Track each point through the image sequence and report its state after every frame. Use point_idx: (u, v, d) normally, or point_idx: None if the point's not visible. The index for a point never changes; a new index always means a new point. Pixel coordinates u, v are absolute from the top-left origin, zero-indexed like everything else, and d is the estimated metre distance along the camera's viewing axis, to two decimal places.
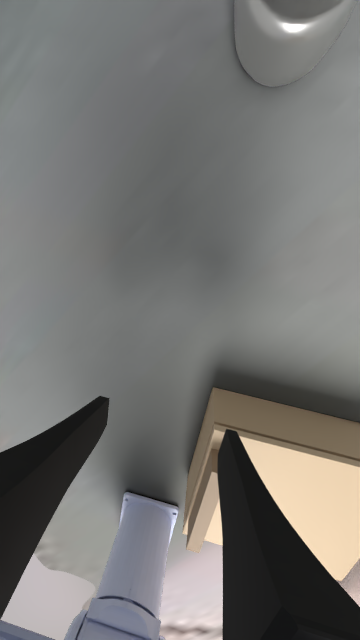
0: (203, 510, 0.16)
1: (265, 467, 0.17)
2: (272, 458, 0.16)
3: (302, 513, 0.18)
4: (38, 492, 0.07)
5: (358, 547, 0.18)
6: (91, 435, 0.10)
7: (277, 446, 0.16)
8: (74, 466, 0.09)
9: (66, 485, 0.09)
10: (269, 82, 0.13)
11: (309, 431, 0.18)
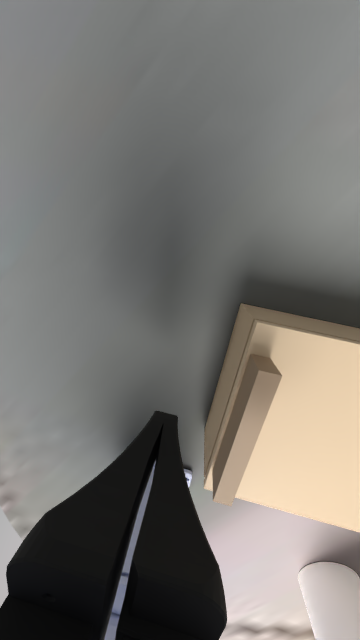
0: (241, 438, 0.11)
1: (327, 379, 0.12)
2: (339, 363, 0.12)
3: None
4: (131, 520, 0.07)
5: None
6: (155, 453, 0.10)
7: (348, 343, 0.11)
8: (144, 486, 0.09)
9: (139, 506, 0.09)
10: None
11: None
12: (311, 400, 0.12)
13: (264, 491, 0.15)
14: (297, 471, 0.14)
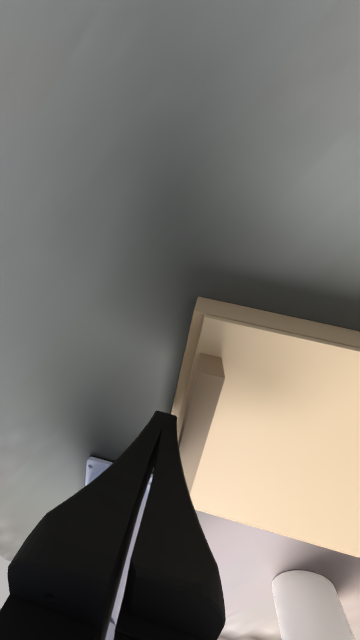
0: (186, 448, 0.10)
1: (285, 381, 0.11)
2: (297, 364, 0.10)
3: (340, 460, 0.11)
4: (132, 520, 0.07)
5: None
6: (155, 453, 0.10)
7: (307, 341, 0.10)
8: (145, 486, 0.09)
9: (139, 506, 0.09)
10: None
11: (339, 335, 0.12)
12: (269, 405, 0.11)
13: (224, 503, 0.14)
14: (258, 482, 0.13)
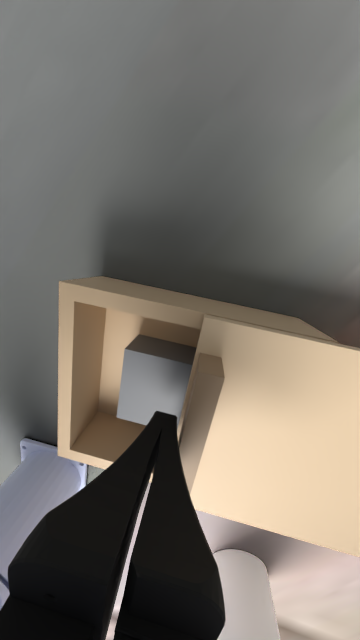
0: (186, 448, 0.10)
1: (285, 381, 0.11)
2: (297, 363, 0.10)
3: (341, 460, 0.11)
4: (132, 520, 0.07)
5: None
6: (155, 453, 0.10)
7: (306, 340, 0.10)
8: (145, 486, 0.09)
9: (139, 506, 0.09)
10: None
11: (208, 307, 0.13)
12: (269, 405, 0.11)
13: (224, 503, 0.14)
14: (259, 482, 0.13)
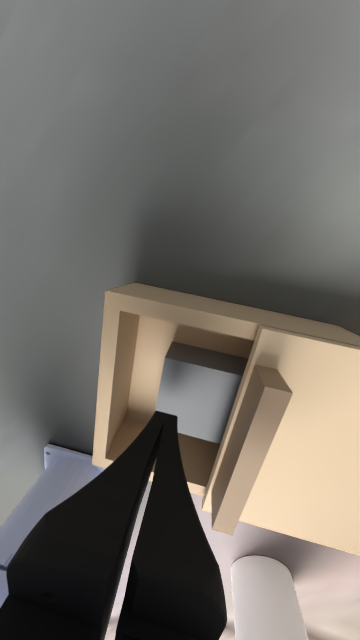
0: (244, 462, 0.10)
1: (343, 393, 0.10)
2: (357, 376, 0.10)
3: None
4: (131, 520, 0.07)
5: None
6: (155, 453, 0.10)
7: None
8: (144, 486, 0.09)
9: (139, 506, 0.09)
10: None
11: (253, 316, 0.12)
12: (324, 417, 0.11)
13: (268, 514, 0.13)
14: (306, 494, 0.12)
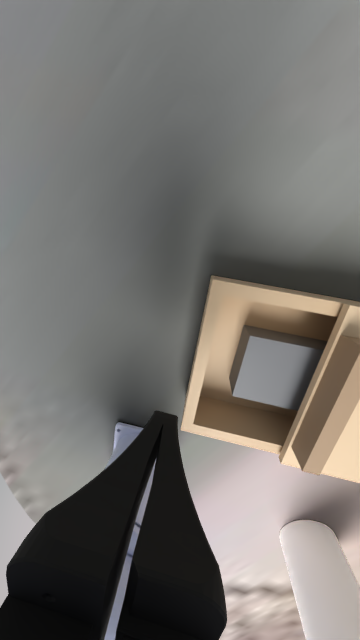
0: (338, 410, 0.13)
1: None
2: None
3: None
4: (131, 520, 0.07)
5: None
6: (155, 452, 0.10)
7: None
8: (144, 486, 0.09)
9: (138, 506, 0.09)
10: None
11: (328, 298, 0.15)
12: None
13: (340, 464, 0.16)
14: None
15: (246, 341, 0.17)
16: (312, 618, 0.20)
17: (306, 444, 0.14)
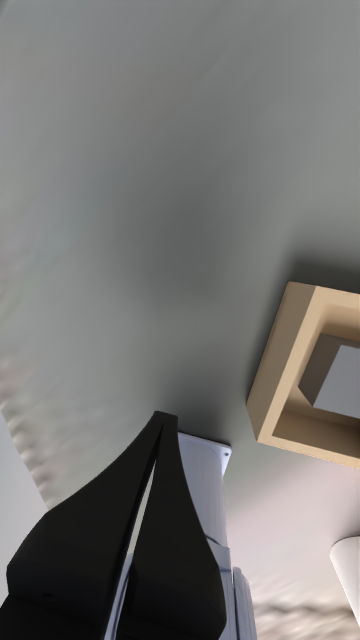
0: None
1: None
2: None
3: None
4: (131, 520, 0.07)
5: None
6: (155, 453, 0.10)
7: None
8: (144, 486, 0.09)
9: (139, 506, 0.09)
10: None
11: None
12: None
13: None
14: None
15: (333, 350, 0.16)
16: None
17: None
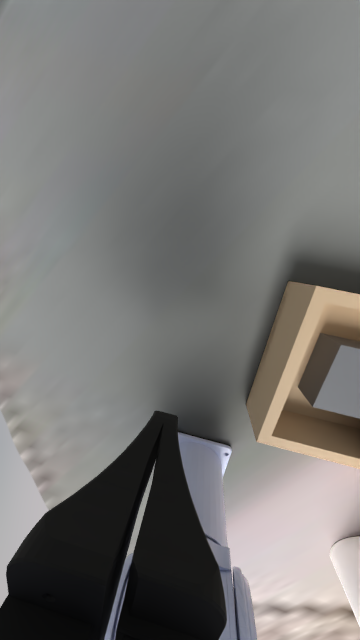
0: None
1: None
2: None
3: None
4: (131, 520, 0.07)
5: None
6: (155, 453, 0.10)
7: None
8: (144, 486, 0.09)
9: (139, 506, 0.09)
10: None
11: None
12: None
13: None
14: None
15: (333, 350, 0.16)
16: None
17: None
